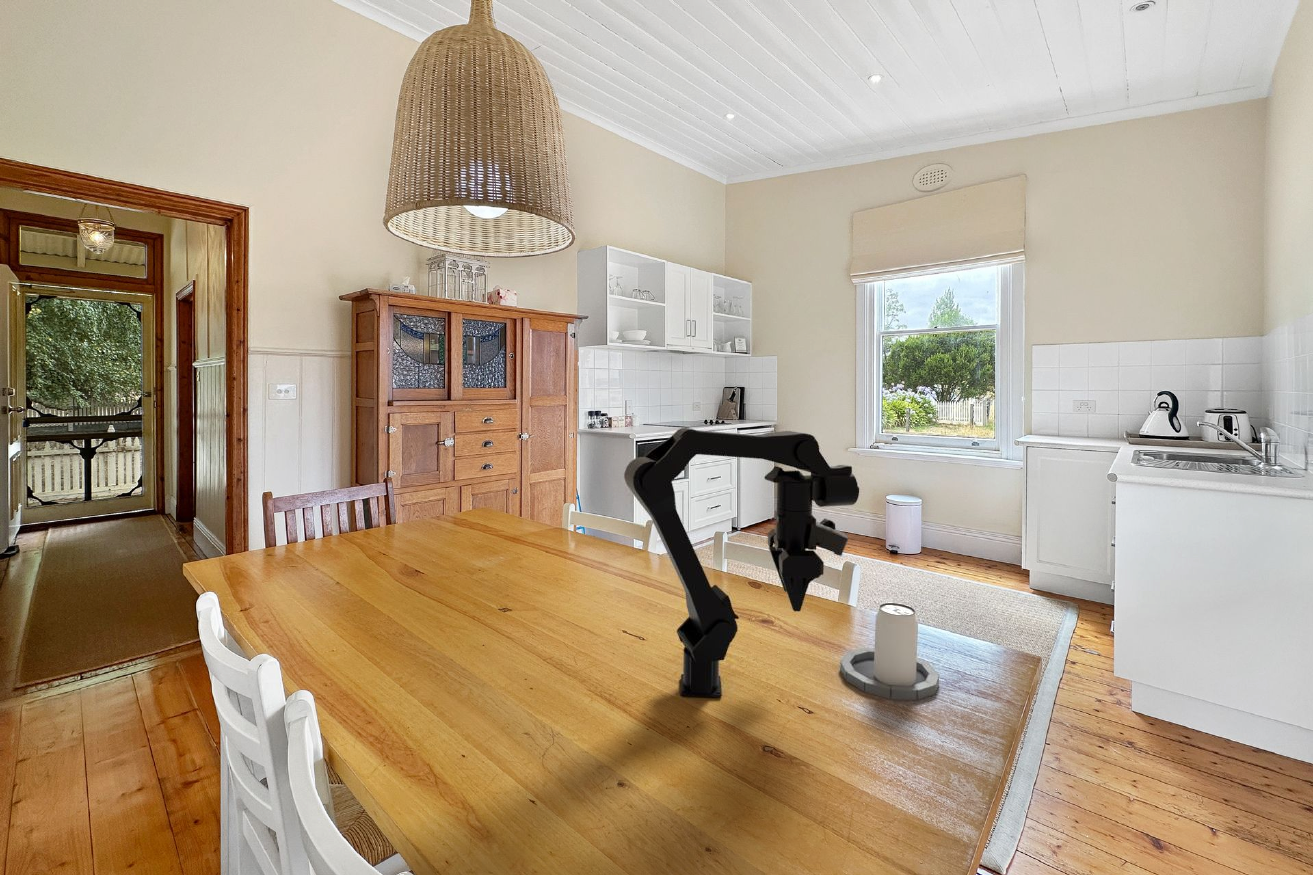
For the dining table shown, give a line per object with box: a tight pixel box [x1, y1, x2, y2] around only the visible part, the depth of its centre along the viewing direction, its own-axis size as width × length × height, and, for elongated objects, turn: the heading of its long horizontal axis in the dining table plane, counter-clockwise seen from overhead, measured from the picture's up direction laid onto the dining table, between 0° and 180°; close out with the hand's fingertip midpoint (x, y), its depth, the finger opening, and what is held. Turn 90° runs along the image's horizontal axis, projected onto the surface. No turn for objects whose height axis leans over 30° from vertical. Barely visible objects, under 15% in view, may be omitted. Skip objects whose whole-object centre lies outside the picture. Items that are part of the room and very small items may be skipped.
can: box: [874, 602, 919, 686], centre depth 98 cm, size 6×6×12 cm
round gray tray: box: [839, 647, 940, 701], centre depth 101 cm, size 15×15×2 cm
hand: (791, 600), depth 100 cm, fingers open, 9 cm apart
